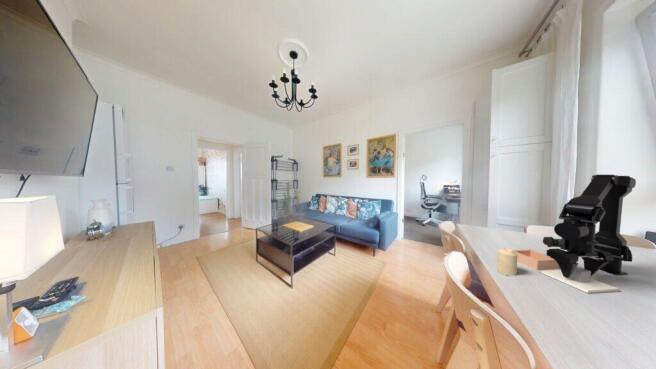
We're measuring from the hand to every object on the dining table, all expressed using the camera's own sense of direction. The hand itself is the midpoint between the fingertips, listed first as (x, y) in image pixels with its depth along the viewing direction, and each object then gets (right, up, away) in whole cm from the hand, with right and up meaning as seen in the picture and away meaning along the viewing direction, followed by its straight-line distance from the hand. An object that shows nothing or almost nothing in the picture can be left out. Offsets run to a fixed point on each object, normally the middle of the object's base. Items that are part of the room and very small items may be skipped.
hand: (576, 276), depth 65 cm
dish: (-1, -1, +13) cm, 13 cm away
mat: (0, -2, 0) cm, 2 cm away
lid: (0, -2, 0) cm, 2 cm away
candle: (-20, -2, +7) cm, 21 cm away
